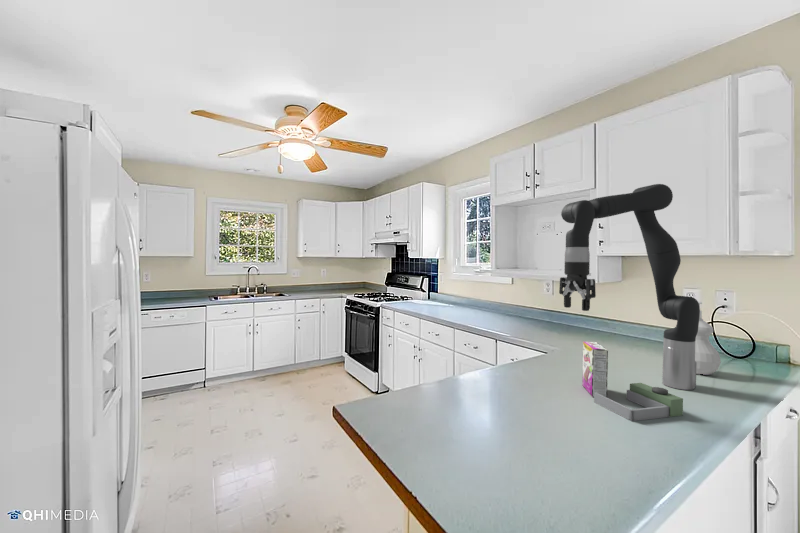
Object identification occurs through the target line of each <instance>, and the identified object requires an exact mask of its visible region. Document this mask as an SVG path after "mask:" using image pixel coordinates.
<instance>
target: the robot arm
mask: <svg viewBox="0 0 800 533" xmlns="http://www.w3.org/2000/svg"><path fill="white" fill-rule="evenodd" d="M673 198H674V195H673V191H672V189H671V188H670V187H669V186H668V185H666V184H663V183H655V184H651V185H646V186H641V187H638V188H635V189H634V190H633V191H632V192H630V193H629V192H628V193H622V194H614V195H607V196H601V197H596V198H593V199H589V200H587V199H583V200H578V201H573V202H569V203H567V204H566V205H565V206H563V208H562V209H561V212H560V213H561V214H560V216H561V218H562V220H563V221H564V222H566V223H568V224H573V227H572V228H571V229H570V230H568V231H567V232H566V234H565V251H564V275H566V276H564V277H559V289H558V290H559V294H560V295H562V297H563V306H564V308H566V309H567V308H568V309H569V308H571V306H572V297H571V296H572V294H573V293H574V292H577V293H578V294H579V295H580V296H581V298H582V300H581V310H582V311H583V312H589V311H590V309H591V300H592V299H594V298H596V296H597V294H596V279H595V278H588V276H589V275H590V263H591V262H590V260H591V258H590V256H591V255H590V248H589V247H590V233H591V230H592V227H593V224H594V222H595V219H596V220H597V219H604V218H608V217H614V216H618V215H621V214H626V213H630V212H631V213H632V212H633V213H634V216H635V218H636V220H637V223H638V226H639V229H640V233H641V236H642V239H643V242H644V244H645V249H646V255H647V258H648V262H649V265H650V268H651V273H652V278H653V282H654V286H655V293H656V300H657V307H658V310H659V313H660V315H661V316H662V317H663V318H665V319H667V320H672V321H676V324H675V326H674V327H673V328H668V329H664V331H663V344H662V345H663V347H662V376H661V377H662V379H661V381H662V382H661V383H662V384H663V385H664V386H667V387H670V388H672V389H673V388H674V389H677V390H683V391H684V390H686V391H691V390H695V388H696V387H697V374H696V366H697V362H696V361H695V341H696V335H697V333H698V326H699V316H700V310H701V308H700V306H699V303H698V302H699V301H698V299H696V298H695V297H691V296H685V295H677V294H676V290H675V288H674V279H675V277H676V274H677V272H678V270H679V268H680V267H681V266H680V265H681V262H682V261H681V254H680V251H679V247H678V243H677V241H676V240H675V239H674V237H672V236H671V234H670V233H669V232H668V231H666V229H664V228H663V226H662V225H661V224H660V223H659V221H658V219H657V216H656V212H657V211H660V210H664V209H665V208H666V209H667V207H669V206H670V205H671V203H672V202H673Z"/></svg>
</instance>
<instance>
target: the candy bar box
mask: <svg viewBox="0 0 800 533" xmlns="http://www.w3.org/2000/svg"><path fill="white" fill-rule="evenodd" d="M608 358H609V349H607V348H606V347H604V346H603V345H601V344H600V343H598V342H596V341H582V380H581V381H582V383H581V385H582V387H583V388H584V389H585V390H586V392H587V393H588V394H589V395H590V396H591V397H592V398H594V393H598V394H600V395H602V396H605V397H607V398H608V369H609V367H608V366H609V365H608V364H609V362H608V361H609V360H608Z"/></svg>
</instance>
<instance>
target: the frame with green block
mask: <svg viewBox="0 0 800 533" xmlns="http://www.w3.org/2000/svg"><path fill="white" fill-rule="evenodd" d="M626 400H629V401H630V402H633V403H635V404H637V405H639V406H640V407H641V406H642V408H630V407H628V406H625V405H623V404H621V403H619V402H618V401H615V400H612V399H611V398H609V397H608V396H607V397H605V396H602V395H600V394H598V393H594V397H593V402H594V403H595V404H597V405H599V406H601V407H602V408H605V409H607V410H609V411H610V412H613V413H615V414H616V415H619V416H621V417H623V418H624V419H626V420H628V421H631V422H636V421H645V420H653V419H654V420H655V419H664V418H672V417H680V416H683V415H684V414H683V413H684V398H682V397H680V396H677V395H674V394H672V393H669V390H668V389H666V388H663V387H659V386H650V385H649V384H646V383H643V382H634V383H629V389H626Z"/></svg>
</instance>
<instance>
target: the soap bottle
mask: <svg viewBox="0 0 800 533" xmlns="http://www.w3.org/2000/svg"><path fill="white" fill-rule="evenodd" d="M698 303H699V306H700V305H702V304H703V302H702V301H698ZM702 314H703V311H702V310H701V309H700V316H699V326H698V333H697V335H696V341H695V361H696V362H697V366H696V375H700V374H703V376H704V375H706V376H707V375H712V374H713V373H716V371H719V367H720V365H721V362H722V361H721V356H720V353H719V351H717V349H716V348H715V347H714V346H713V344H712V343H711V342H710V340H709V339H710V336H711V335H712V334H713V333H714V327H713V326H712V325H711V324H709V323H708V322H706V321H704V319H703V316H702Z"/></svg>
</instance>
